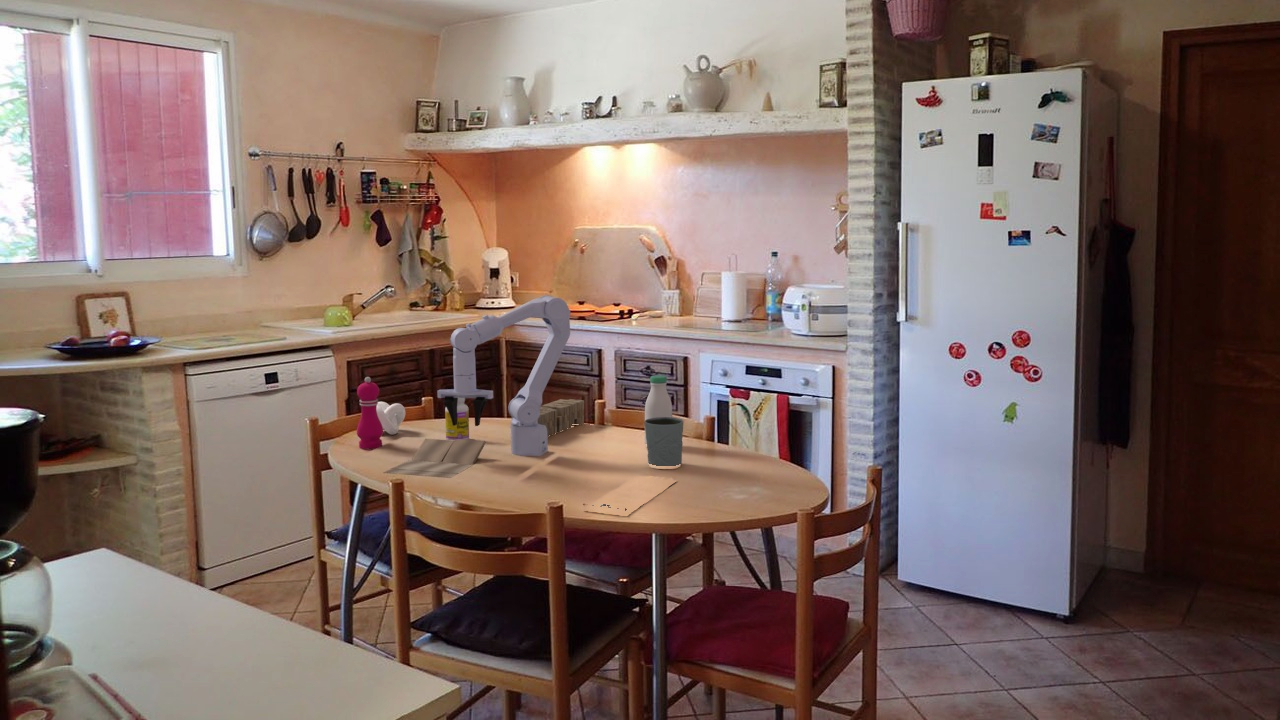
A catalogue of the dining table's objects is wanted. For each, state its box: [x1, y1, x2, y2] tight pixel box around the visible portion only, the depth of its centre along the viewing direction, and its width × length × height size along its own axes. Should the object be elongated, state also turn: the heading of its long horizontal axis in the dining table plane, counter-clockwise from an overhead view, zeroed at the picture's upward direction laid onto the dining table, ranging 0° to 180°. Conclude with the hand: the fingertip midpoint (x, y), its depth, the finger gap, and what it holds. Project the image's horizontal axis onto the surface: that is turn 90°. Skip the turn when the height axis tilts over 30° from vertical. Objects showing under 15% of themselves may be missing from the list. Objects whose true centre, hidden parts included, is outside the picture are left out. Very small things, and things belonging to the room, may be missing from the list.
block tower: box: [511, 398, 585, 436], centre depth 308 cm, size 8×8×29 cm
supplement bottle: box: [444, 398, 470, 441], centre depth 296 cm, size 7×7×13 cm
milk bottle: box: [644, 374, 673, 445], centre depth 287 cm, size 8×8×20 cm
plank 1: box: [411, 438, 454, 463], centre depth 273 cm, size 8×9×1 cm
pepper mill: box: [356, 376, 384, 450], centre depth 288 cm, size 7×7×20 cm
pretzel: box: [376, 401, 406, 436], centre depth 307 cm, size 11×12×9 cm
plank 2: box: [441, 439, 486, 465], centre depth 271 cm, size 8×9×1 cm
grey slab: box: [383, 459, 474, 479], centre depth 262 cm, size 18×13×1 cm
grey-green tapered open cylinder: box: [644, 416, 684, 466], centre depth 267 cm, size 10×10×12 cm
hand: (466, 425), depth 271 cm, fingers open, 5 cm apart
